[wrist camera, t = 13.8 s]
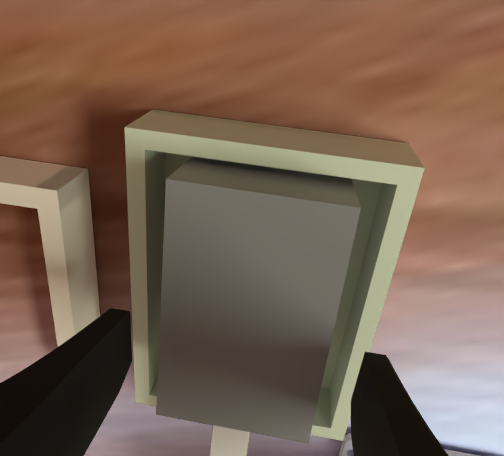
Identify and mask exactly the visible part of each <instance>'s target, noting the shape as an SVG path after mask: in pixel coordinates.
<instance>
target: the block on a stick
mask: <svg viewBox="0 0 504 456" xmlns="http://www.w3.org/2000/svg"><path fill="white" fill-rule="evenodd" d="M360 211H361V206H360V203H359V200H358V197H357V194H356V191H355V188H354V185H353V182H352V179H351V178H344V177H337V176H330V175H323V174H316V173H309V172H301V171H294V170H287V169H280V168H273V167H266V166H259V165H251V164H244V163H237V162H230V161H223V160H216V159H208V158H201V157H194V156H193V157H192V158H190V159H189V160H188V161H187V162H186V163H184V164H183V165H182V166H181V167H180V168H179V169H177V170H176V171H175V172H174V173H173V174H171V175H170V176H169V177H168V178H167V179H166V193H165V217H164V241H163V265H162V289H161V313H160V337H159V360H158V384H157V408H156V414H157V415H162V416H167V417H173V418H178V419H183V420H188V421H194V422H199V423H204V424H210V425H213V431H212V441H211V450H210V456H247V450H248V444H249V437H250V432H252V433H257V434H262V435H267V436H273V437H278V438H283V439H288V440H294V441H299V442H304V443H309V439H310V434H311V430H312V425H313V421H314V416H315V412H316V407H317V403H318V398H319V394H320V390H321V385H322V381H323V376H324V372H325V367H326V363H327V358H328V354H329V349H330V345H331V340H332V336H333V331H334V327H335V322H336V318H337V314H338V309H339V305H340V300H341V296H342V291H343V287H344V282H345V278H346V273H347V269H348V264H349V260H350V255H351V251H352V246H353V242H354V237H355V233H356V229H357V224H358V220H359V215H360Z"/></svg>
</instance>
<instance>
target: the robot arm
mask: <svg viewBox="0 0 504 456" xmlns="http://www.w3.org/2000/svg"><path fill="white" fill-rule="evenodd" d="M131 362H132V350H131V325H130V311H125V310H119V309H113V308H111V309H109V310H108V311H106V312H105V313H104V314H102V315H101V316H100V317H98V318H97V319H96V320H94V321H93V322H92V323H90V324H89V325H88V326H86V327H85V328H83V329H82V330H81V331H79V332H78V333H77V334H75V335H74V336H73V337H71V338H70V339H68V340H67V341H66V342H64V343H63V344H61V345H60V346H59V347H57V348H56V349H54V350H53V351H52V352H50V353H49V354H47V355H46V356H44V357H42V358H41V359H39V360H38V361H36V362H35V363H33V364H32V365H30V366H29V367H27V368H26V369H24V370H22V371H21V372H19V373H17V374H16V375H14V376H12V377H11V378H9V379H7V380H5V381H3V382H2V383H0V456H84V454H85V452H86V451H87V449H88V447H89V445H90V443H91V442H92V440H93V438H94V436H95V435H96V433H97V431H98V429H99V427H100V426H101V424H102V422H103V420H104V419H105V417H106V415H107V413H108V411H109V410H110V408H111V406H112V404H113V402H114V401H115V399H116V397H117V395H118V393H119V391H120V389H121V387H122V384H123V382H124V380H125V377H126V375H127V372H128V370H129V367H130V364H131ZM338 456H479V455H474V454H468V453H463V452H458V451H452V450H447V449H443V447H442V446H441V444H440V443H439V441H438V440H437V439H436V437H435V436H434V434H433V433H432V431H431V430H430V428H429V427H428V425H427V424H426V422H425V421H424V419H423V418H422V416H421V414H420V413H419V411H418V410H417V408H416V406H415V405H414V403H413V402H412V400H411V398H410V397H409V395H408V393H407V391H406V390H405V388H404V386H403V384H402V383H401V381H400V379H399V377H398V376H397V374H396V372H395V370H394V368H393V366H392V364H391V363H390V361H389V359H388V358H387V356H386V355H382V354H376V353H370V352H365V353H364V357H363V360H362V363H361V367H360V370H359V374H358V377H357V381H356V384H355V387H354V391H353V394H352V398H351V433H349V434H347V435H345V437H344V439H343V441H342V445H341V448H340V452H339V455H338Z"/></svg>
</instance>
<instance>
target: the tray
mask: <svg viewBox="0 0 504 456" xmlns="http://www.w3.org/2000/svg"><path fill="white" fill-rule="evenodd" d="M125 152H126V177H127V203H128V228H129V253H130V279H131V304H132V329H133V354H134V380H135V403H141V404H146V405H151V406H157V384H158V360H159V337H160V313H161V289H162V265H163V241H164V217H165V193H166V179H167V178H168V177H169V176H170V175H171V174H173V173H174V172H175V171H176V170H177V169H179V168H180V167H181V166H182V165H183V164H184V163H186V162H187V161H188V160H189V159H190V158H192V157H193V156H194V157H201V158H208V159H216V160H223V161H230V162H237V163H244V164H251V165H259V166H266V167H273V168H280V169H287V170H294V171H301V172H309V173H316V174H323V175H330V176H337V177H344V178H351V179H352V182H353V185H354V188H355V191H356V194H357V197H358V200H359V203H360V206H361V211H360V215H359V220H358V224H357V229H356V233H355V237H354V242H353V246H352V251H351V255H350V260H349V264H348V269H347V273H346V278H345V282H344V287H343V291H342V296H341V300H340V305H339V309H338V314H337V318H336V322H335V327H334V331H333V336H332V340H331V345H330V349H329V354H328V358H327V363H326V367H325V372H324V376H323V381H322V385H321V390H320V394H319V398H318V403H317V407H316V412H315V416H314V421H313V425H312V430H311V434H310V435H313V436H319V437H324V438H330V439H335V440H340V441H343V439H344V436H345V433H346V429H347V426H348V423H349V419H350V416H351V398H352V394H353V391H354V387H355V384H356V381H357V377H358V374H359V370H360V367H361V363H362V360H363V357H364V353H365V352H370V349H371V346H372V342H373V339H374V336H375V332H376V329H377V326H378V322H379V319H380V316H381V312H382V309H383V306H384V302H385V299H386V296H387V292H388V289H389V286H390V282H391V279H392V276H393V272H394V269H395V266H396V262H397V259H398V256H399V252H400V249H401V245H402V242H403V239H404V235H405V232H406V229H407V225H408V222H409V219H410V215H411V212H412V209H413V205H414V202H415V199H416V195H417V192H418V189H419V185H420V182H421V179H422V175H423V172H424V169H425V168H424V166H423V165H422V163H421V162H420V160H419V159H418V157H417V156H416V154H415V153H414V151H413V150H412V148H411V146H410V145H409V143H404V142H396V141H388V140H381V139H373V138H366V137H358V136H351V135H343V134H336V133H328V132H321V131H313V130H305V129H298V128H290V127H283V126H275V125H268V124H260V123H253V122H245V121H237V120H230V119H222V118H215V117H207V116H200V115H192V114H185V113H177V112H170V111H162V110H154V109H153V110H151V111H150V112H148V113H146V114H145V115H143V116H142V117H140V118H138V119H137V120H135V121H134V122H132V123H130V124H129V125H127V126H126V127H125Z"/></svg>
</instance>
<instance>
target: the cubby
mask: <svg viewBox="0 0 504 456" xmlns="http://www.w3.org/2000/svg"><path fill="white" fill-rule="evenodd" d="M0 203H3V204H9V205H16V206H22V207H29V208H35V209H38V216H39V223H40V230H41V237H42V243H43V250H44V257H45V264H46V271H47V277H48V284H49V291H50V298H51V305H52V311H53V318H54V325H55V332H56V339H57V345H58V347H59V346H60V345H61V344H63V343H64V342H66V341H67V340H68V339H70V338H71V337H73V336H74V335H75V334H77V333H78V332H79V331H81V330H82V329H83V328H85V327H86V326H88V325H89V324H90V323H92V322H93V321H94V320H96V319H97V318H98V317H100V307H99V295H98V283H97V270H96V258H95V246H94V234H93V222H92V210H91V198H90V186H89V174H88V169H86V168H79V167H72V166H66V165H59V164H52V163H45V162H38V161H31V160H24V159H17V158H10V157H3V156H0Z"/></svg>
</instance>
